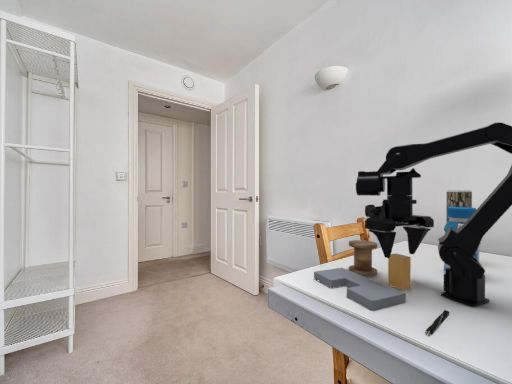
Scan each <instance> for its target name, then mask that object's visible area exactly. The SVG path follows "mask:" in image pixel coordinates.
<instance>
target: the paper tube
mask: <svg viewBox="0 0 512 384" xmlns="http://www.w3.org/2000/svg"><path fill="white" fill-rule="evenodd" d="M445 206H446V207H445V209H446V210H445V211H446V214H445V215H446V221H445V223H447V222H448V221H449V220H450V218H447V208H448V207H472V208H473V190H446V204H445Z"/></svg>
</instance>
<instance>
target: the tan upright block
mask: <svg viewBox="0 0 512 384" xmlns="http://www.w3.org/2000/svg"><path fill="white" fill-rule="evenodd" d="M387 259H388V260H387V265H388V266H387V267H388V268H387V286H390V287H392V288H395V289H397V290H398V289H399V290H400V291H405V290H408V289H409V290H410V289H411V269H412V268H411V266H412V265H411V261H412V259H411V256H407V255H404V254H401V253H391V255H390V258H387Z"/></svg>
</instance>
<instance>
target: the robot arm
mask: <svg viewBox="0 0 512 384" xmlns="http://www.w3.org/2000/svg"><path fill="white" fill-rule="evenodd" d="M486 145H487V146H488V145H492V146H495V147H497V148H499V149H501V150H503V151H505V152H507V153H508V154H511V155H512V125H510V124H507V123H504V122H498V121H497V122H492V123H490V124H489V125H486V126H481V127H479V128H477V129H472V130H468V131H464V132H462V133H458V134H454V135H451V136H446V137H443V138H439V139H436V140H432V141H430V142H424V143H410V144H402V145H397V146H396V145H395V146H393V147H391V148H389V150H388V151H387V153H386V155H385V160H384V162H383V163H382V164H381V166H380V167H379V169H377V170H376V171H374V170H373V171H364V170H363V171H361V170H360V171H358V172H357V176H356V182H355V192H356V195H357V196H371V197H372V196H381V193H385V191H386V199H383V200H382V204H381V205H379V206H375V205H374V204H367V205H365V206H364V207H365V208H364V214H365V216H366V217H367V218H366V219H365V220H364V229H367V230H368V231H369V233H372V234H373V235H374V236H375V237H376V238H377V240H378V243H379V245H380V247H381V251H382V253H383V255H384V257H385V258H386V259H388V258H390V255H391V254H392V251H393V247H394V242H395V239H396V235H397V232H396V231H395V230H396V228H397V227H402V228H403V230H404V231H405V232H406V235H407V248H408V253H409V254H410V255H415V253H416V252H417V250H418V248H419V247H420V245H421V243H422V242H423V240H424V239H425V237H426V236H427V234H428V232H429V231H431V228H434V227H435V222H434V219H433V218H432V216H430V215H419V214H418V215H417V214H414V213H413V205H415V204H417V202H418V201H417V199H413V179H421V177H422V175H421V173H419V172H417V171H416V169H415V168H411V167H414V166H416V165H419V164H421V163H424V162H426V161H428V160H430V159H434V158H438V157H442V156H446V155H450V154H455V153H457V152H462V151H466V150H470V149H473V148H479V147H482V146H486ZM410 168H411V169H410ZM406 169H410V170H409V171H404V170H406ZM396 171H397V172H396ZM395 172H396V174H395V175H392V174H394V173H395ZM389 175H390V176H389ZM511 207H512V164H511V166H510V168H509V170H508V172H507V174H506V175H505V177H504V178H503V179H502V180H501V181H500V183H499V184H497V186H496V187H495V188H494V189H493V191H492V192H491V193H490V194H489V195H488V196H487V197H486V198H485V199H484V200H483V202H482V203H481V204H480V205H479V206H478V207H477V208H476V211H475V212H474V213H473V214H472V216H471V217H470V218H469V219H468V220H467V221H466V222H465V224H464V225H462V226H461V227H459V228H458V229H456V230H453V229H452V228H451V227H449V228H448V229H447V231H446V233H445V232H444V234H443V235H442V236H440V237H439V238H438V245H437V249H438V254H439V258H440V260H441V261H442V262H443V264H444V263H446V264H447V265H449V266H450V268H446V273H444V274H443V292H441V296H442V297H445V298H448V299H451V300H454V301H456V302H460V303H462V304H465V305H467V306H470V307H477V306H480V305H483V304H487V303H490V299H489V298H487V297H486V274H485V273H486V269H485V268H484V266H482V264H481V262H480V260H479V261H478V260H477V259H475V258H474V257H473V256H474V254H475V253H476V251H477V249H478V247H479V248H480V245H481V244H480V242H481V243H482V239H483V238H484V236H485V235H486V234H487V233H488V231H490V230H491V228H492V227H494V226H495V224H496V223H497V222H498V220H500V218H502V216H503V215H504V214H505V213H506V212H507V211H508V210H509V209H510V208H511ZM479 244H480V245H479Z"/></svg>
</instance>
